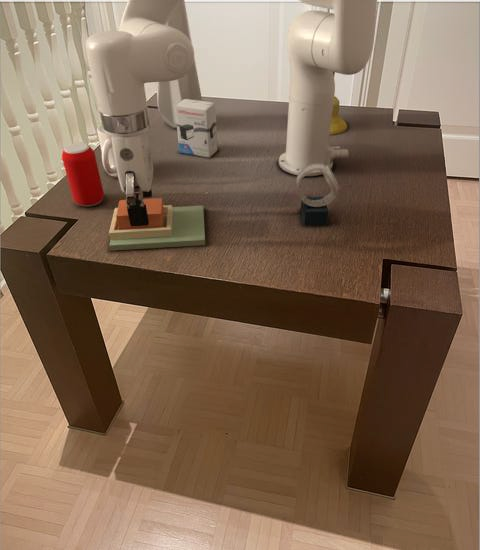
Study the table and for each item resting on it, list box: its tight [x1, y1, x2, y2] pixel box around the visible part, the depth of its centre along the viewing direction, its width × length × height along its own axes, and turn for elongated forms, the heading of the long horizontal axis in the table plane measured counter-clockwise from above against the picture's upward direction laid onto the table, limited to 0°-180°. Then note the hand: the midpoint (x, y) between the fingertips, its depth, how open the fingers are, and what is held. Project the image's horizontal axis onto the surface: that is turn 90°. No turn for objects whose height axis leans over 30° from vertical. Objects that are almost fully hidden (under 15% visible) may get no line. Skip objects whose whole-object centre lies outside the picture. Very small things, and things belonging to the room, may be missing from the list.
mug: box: [96, 123, 118, 178], centre depth 101 cm, size 12×8×10 cm
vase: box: [156, 0, 203, 129], centre depth 117 cm, size 12×12×33 cm
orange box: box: [116, 197, 165, 230], centre depth 85 cm, size 8×6×4 cm
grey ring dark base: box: [295, 163, 340, 227], centre depth 86 cm, size 6×8×11 cm
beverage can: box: [61, 142, 105, 208], centre depth 91 cm, size 6×6×12 cm
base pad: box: [108, 204, 206, 252], centre depth 86 cm, size 17×12×3 cm
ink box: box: [175, 99, 218, 158], centre depth 110 cm, size 8×5×12 cm, turn 68°
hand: (142, 210), depth 84 cm, fingers open, 9 cm apart
